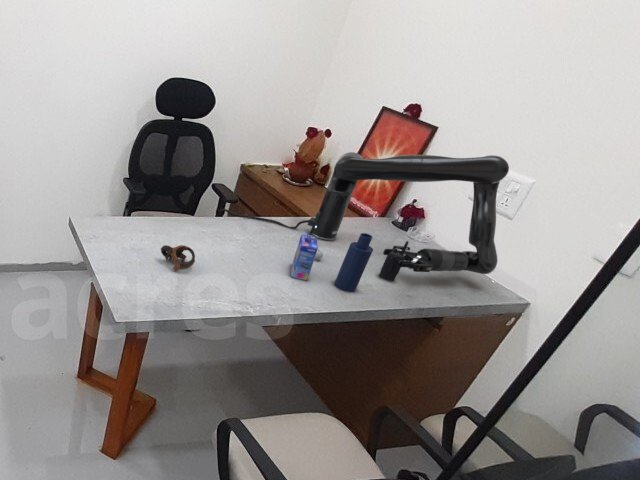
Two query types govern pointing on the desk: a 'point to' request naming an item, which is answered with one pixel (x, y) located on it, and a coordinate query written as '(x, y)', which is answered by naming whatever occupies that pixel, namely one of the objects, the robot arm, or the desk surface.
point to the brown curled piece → (178, 256)
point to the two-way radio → (392, 264)
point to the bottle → (354, 264)
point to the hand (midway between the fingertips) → (391, 257)
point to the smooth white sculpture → (318, 255)
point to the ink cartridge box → (304, 257)
